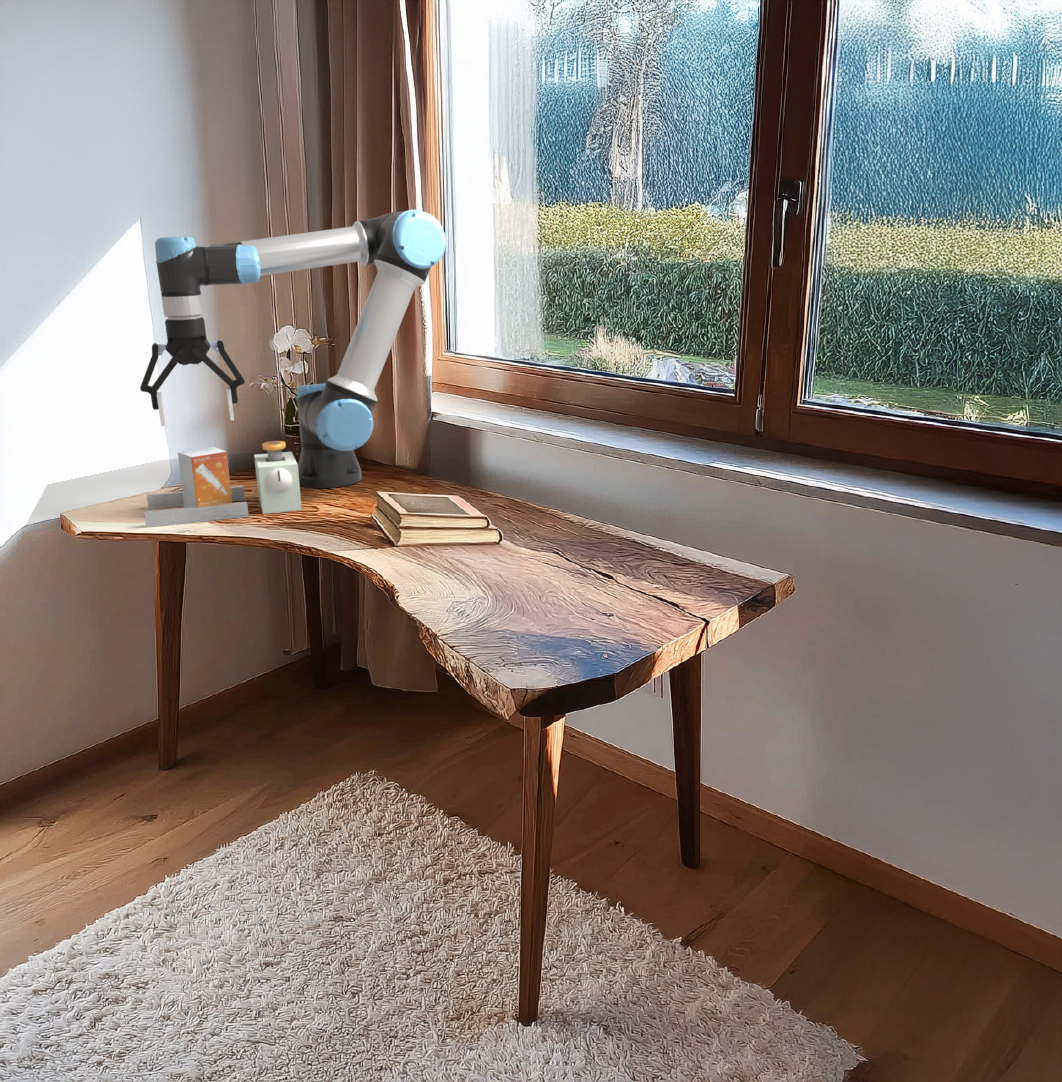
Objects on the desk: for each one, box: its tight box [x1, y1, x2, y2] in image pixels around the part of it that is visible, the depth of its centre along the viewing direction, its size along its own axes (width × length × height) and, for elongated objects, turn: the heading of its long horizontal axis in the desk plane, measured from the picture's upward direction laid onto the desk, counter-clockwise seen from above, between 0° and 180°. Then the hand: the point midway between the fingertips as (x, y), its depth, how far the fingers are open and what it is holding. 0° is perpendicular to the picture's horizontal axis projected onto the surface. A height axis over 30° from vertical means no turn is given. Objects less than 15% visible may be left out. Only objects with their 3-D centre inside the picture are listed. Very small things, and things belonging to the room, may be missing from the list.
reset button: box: [261, 440, 287, 462], centre depth 210 cm, size 5×5×6 cm
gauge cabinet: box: [253, 451, 303, 515], centre depth 212 cm, size 8×14×10 cm, turn 19°
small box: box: [177, 446, 233, 508], centre depth 207 cm, size 8×6×13 cm
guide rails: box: [143, 485, 249, 528], centre depth 208 cm, size 20×15×3 cm
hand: (198, 422), depth 203 cm, fingers open, 13 cm apart
